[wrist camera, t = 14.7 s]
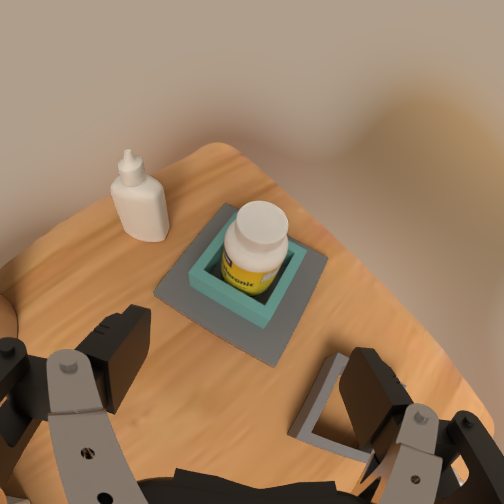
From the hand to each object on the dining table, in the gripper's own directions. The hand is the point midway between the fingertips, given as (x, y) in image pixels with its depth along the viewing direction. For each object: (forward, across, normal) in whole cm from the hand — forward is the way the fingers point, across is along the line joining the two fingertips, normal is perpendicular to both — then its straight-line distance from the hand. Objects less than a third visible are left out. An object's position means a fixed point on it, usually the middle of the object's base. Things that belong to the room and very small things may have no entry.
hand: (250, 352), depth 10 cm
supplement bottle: (+19, 0, +4) cm, 19 cm away
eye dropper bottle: (+22, +12, +2) cm, 26 cm away
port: (+20, 0, +4) cm, 20 cm away
